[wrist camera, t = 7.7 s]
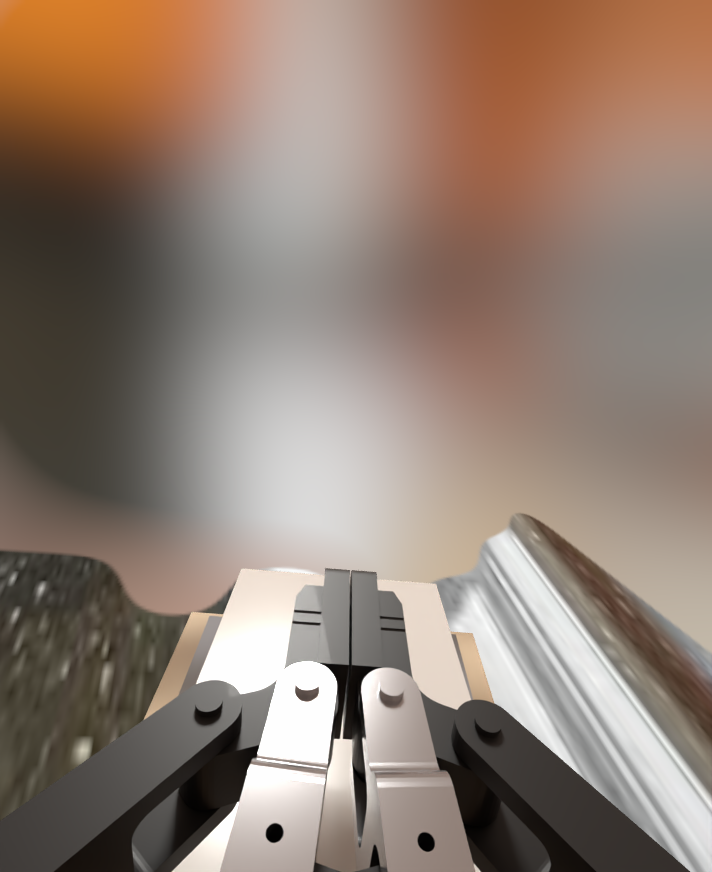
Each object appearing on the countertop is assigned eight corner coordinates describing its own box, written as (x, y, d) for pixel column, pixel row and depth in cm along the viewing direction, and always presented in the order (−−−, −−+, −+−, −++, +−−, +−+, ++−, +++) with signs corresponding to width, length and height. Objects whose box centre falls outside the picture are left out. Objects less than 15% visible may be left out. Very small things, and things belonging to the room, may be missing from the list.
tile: (557, 984, 10) (435, 584, 23) (86, 962, 9) (241, 568, 23) (528, 1079, 10) (427, 638, 24) (92, 1062, 10) (239, 624, 24)
